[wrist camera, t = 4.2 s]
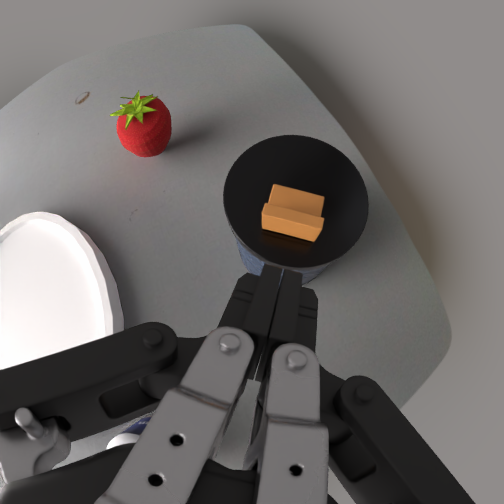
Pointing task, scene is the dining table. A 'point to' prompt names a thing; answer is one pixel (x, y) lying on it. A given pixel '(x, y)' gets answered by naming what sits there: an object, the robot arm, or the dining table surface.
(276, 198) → the orange l-shaped block
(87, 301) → the plate
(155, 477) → the robot arm
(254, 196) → the travel cup
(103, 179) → the dining table surface
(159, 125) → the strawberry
